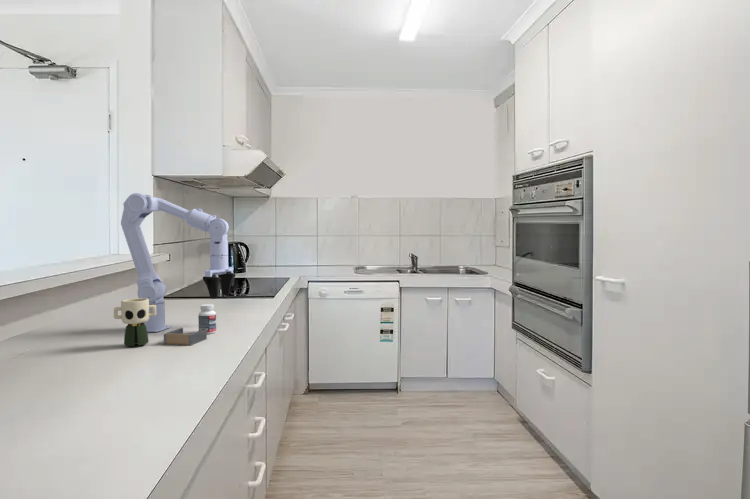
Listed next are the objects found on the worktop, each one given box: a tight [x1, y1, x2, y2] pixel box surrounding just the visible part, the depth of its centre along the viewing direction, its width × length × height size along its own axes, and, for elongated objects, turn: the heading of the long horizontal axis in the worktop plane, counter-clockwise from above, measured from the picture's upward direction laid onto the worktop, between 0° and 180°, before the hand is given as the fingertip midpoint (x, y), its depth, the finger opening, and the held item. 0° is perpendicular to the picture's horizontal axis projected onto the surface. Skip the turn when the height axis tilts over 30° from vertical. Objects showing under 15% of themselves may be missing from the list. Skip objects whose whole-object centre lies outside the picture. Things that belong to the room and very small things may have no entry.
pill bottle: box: [197, 303, 217, 335], centre depth 157 cm, size 5×5×9 cm
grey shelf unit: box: [163, 327, 208, 346], centre depth 146 cm, size 9×8×3 cm
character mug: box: [113, 297, 157, 347], centre depth 141 cm, size 11×7×13 cm, turn 114°
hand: (220, 296), depth 165 cm, fingers open, 7 cm apart
